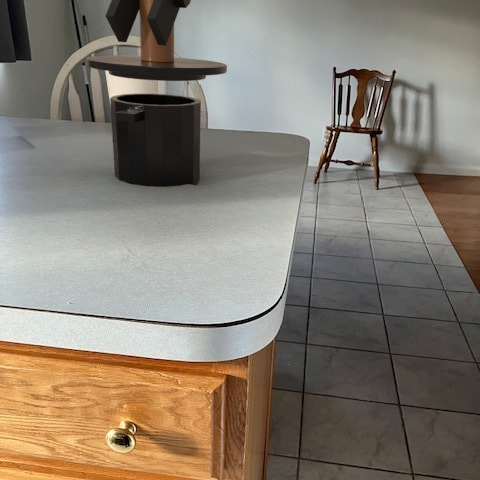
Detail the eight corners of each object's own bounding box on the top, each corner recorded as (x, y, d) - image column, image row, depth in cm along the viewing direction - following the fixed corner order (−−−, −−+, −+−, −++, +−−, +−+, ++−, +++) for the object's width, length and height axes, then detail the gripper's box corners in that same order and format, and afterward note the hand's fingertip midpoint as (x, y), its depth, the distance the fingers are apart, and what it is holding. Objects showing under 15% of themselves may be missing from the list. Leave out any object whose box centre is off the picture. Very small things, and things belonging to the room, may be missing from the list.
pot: (88, 188, 70) (81, 102, 65) (148, 162, 85) (145, 89, 79) (170, 200, 67) (169, 111, 62) (217, 171, 82) (220, 96, 77)
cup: (168, 137, 103) (167, 63, 97) (118, 140, 98) (114, 62, 92) (148, 127, 110) (146, 58, 104) (101, 130, 105) (96, 57, 99)
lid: (57, 74, 46) (41, -89, 41) (130, 66, 57) (124, -65, 51) (194, 87, 43) (197, -88, 37) (244, 76, 53) (251, -62, 48)
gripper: (301, -128, 52) (236, 72, 46) (150, -126, 56) (73, 57, 50) (294, -225, 45) (216, -4, 39) (121, -215, 49) (28, -14, 43)
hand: (136, 30), depth 45 cm, fingers closed on lid, 3 cm apart
